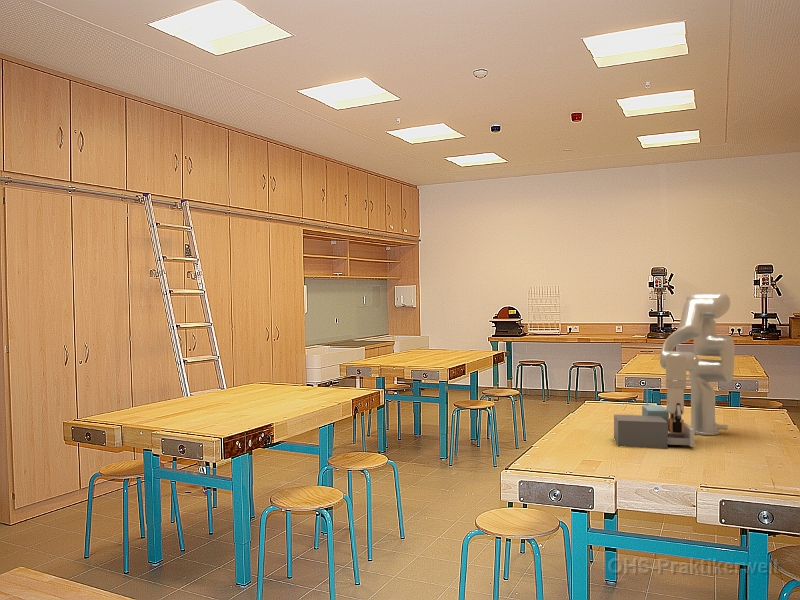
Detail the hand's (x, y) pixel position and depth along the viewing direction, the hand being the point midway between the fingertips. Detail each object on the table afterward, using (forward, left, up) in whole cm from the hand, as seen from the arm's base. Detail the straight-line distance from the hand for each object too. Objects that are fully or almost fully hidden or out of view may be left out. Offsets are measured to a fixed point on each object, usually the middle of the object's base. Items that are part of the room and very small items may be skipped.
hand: (675, 430), depth 264 cm
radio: (+4, -18, -6) cm, 20 cm away
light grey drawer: (+3, 0, -5) cm, 6 cm away
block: (0, 0, -1) cm, 1 cm away
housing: (+13, 0, -6) cm, 14 cm away
